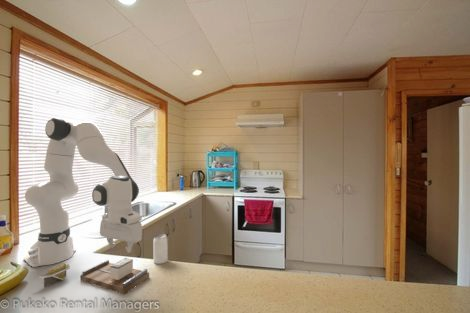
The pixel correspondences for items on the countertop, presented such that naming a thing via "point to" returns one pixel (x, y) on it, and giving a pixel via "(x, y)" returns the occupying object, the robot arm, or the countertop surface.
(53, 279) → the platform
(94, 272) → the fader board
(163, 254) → the can
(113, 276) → the white lidded box
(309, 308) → the countertop surface
